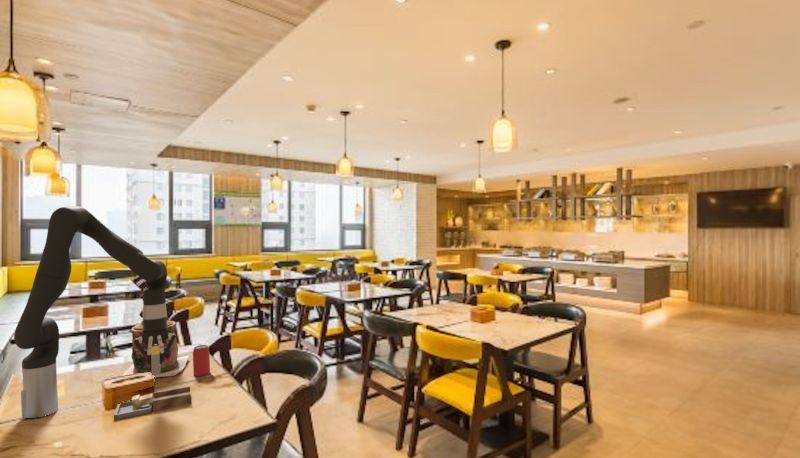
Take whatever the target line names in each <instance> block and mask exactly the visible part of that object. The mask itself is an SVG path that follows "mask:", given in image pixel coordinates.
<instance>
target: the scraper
mask: <svg viewBox="0 0 800 458" xmlns="http://www.w3.org/2000/svg"><path fill="white" fill-rule="evenodd" d="M151 366H152V375H153V374H160V370H161V367H160V347H159V344H154V345H152V346H151Z"/></svg>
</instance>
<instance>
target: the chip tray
mask: <svg viewBox="0 0 800 458" xmlns="http://www.w3.org/2000/svg"><path fill="white" fill-rule="evenodd" d="M126 401H127V402H124V401H122V402H123V406H122V407H121V403H120V404H118V403H117V405H116V408H115V410H114V414H113V420H114V421H117V420H121V419H126V418H131V417H137V416H141V415H142V416H143V415H146V414H147V415H148V414H152V412H153V403H151V404H147V405H144V406H141V409H140V410H135V411H133V406H132V401H130V400H126ZM124 405H127V406H124Z"/></svg>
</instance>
